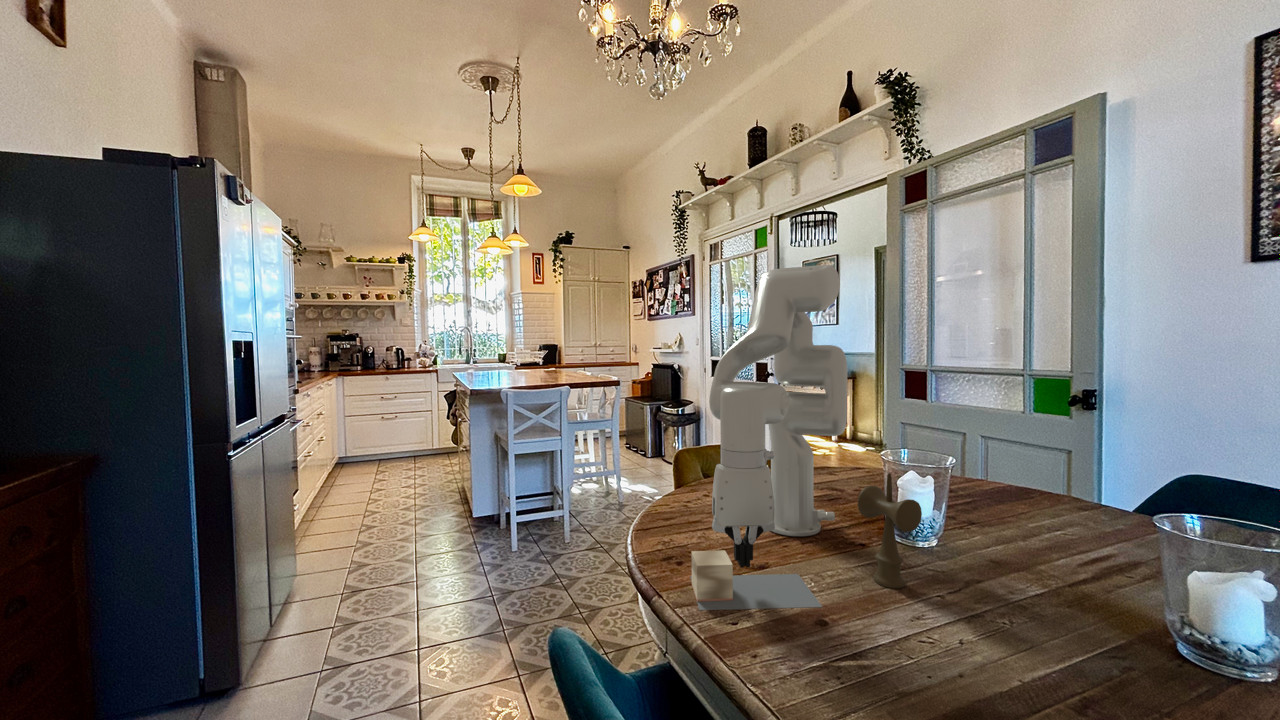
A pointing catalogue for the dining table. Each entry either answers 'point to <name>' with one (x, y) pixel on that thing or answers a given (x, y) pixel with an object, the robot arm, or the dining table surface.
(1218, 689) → the dining table surface
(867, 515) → the kendama
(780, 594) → the slate mat
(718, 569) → the birch cube
